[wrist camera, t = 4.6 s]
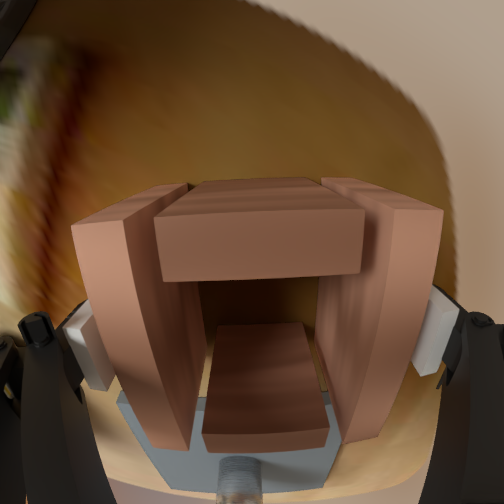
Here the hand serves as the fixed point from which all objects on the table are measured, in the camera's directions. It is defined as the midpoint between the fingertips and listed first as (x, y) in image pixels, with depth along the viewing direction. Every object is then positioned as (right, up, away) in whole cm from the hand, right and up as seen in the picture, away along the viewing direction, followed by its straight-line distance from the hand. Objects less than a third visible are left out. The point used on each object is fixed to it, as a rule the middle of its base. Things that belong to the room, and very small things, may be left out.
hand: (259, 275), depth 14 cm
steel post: (-1, -16, +5) cm, 17 cm away
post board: (-1, -16, +6) cm, 17 cm away
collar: (0, 0, 0) cm, 0 cm away
